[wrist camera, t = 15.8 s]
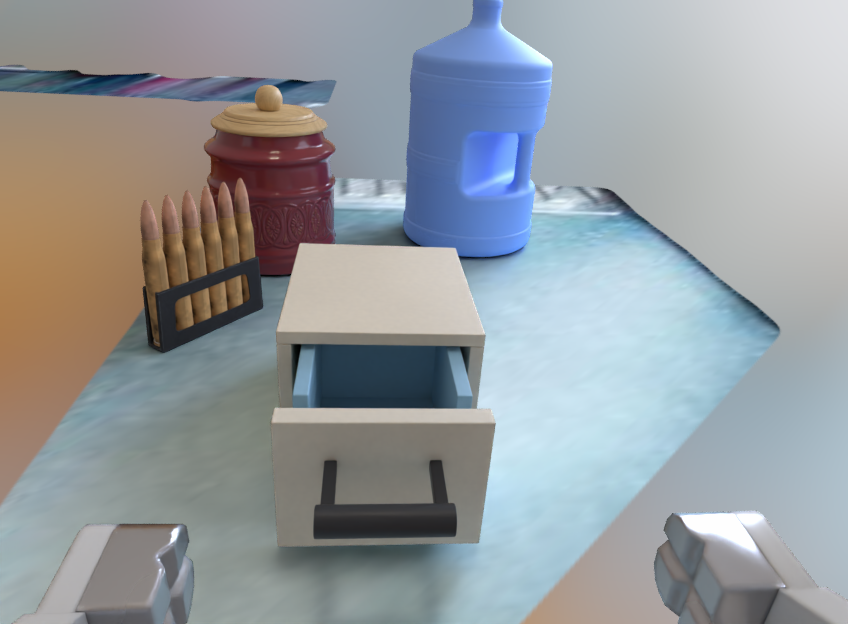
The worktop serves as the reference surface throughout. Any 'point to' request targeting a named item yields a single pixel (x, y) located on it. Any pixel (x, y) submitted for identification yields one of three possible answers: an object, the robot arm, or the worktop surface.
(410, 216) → the water jug
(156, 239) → the ammunition clip
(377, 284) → the small drawer cabinet
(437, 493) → the cabinet drawer
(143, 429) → the worktop surface
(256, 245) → the kitchen canister
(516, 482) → the worktop surface
